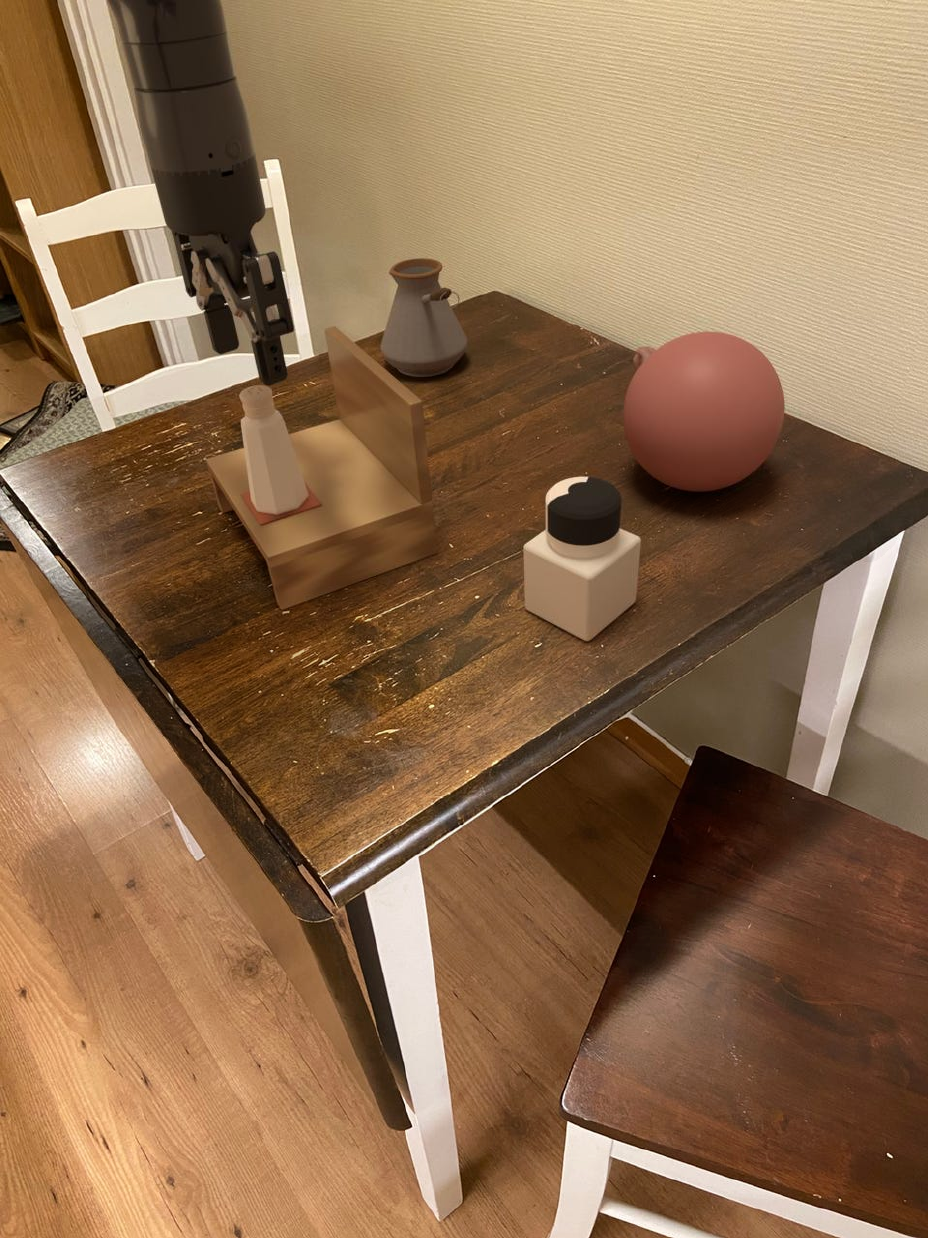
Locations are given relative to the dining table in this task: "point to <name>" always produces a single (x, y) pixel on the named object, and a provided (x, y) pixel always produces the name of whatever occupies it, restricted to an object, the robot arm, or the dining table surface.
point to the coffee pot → (422, 322)
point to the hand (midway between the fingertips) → (250, 365)
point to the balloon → (703, 410)
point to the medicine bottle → (581, 559)
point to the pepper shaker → (269, 455)
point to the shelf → (344, 486)
